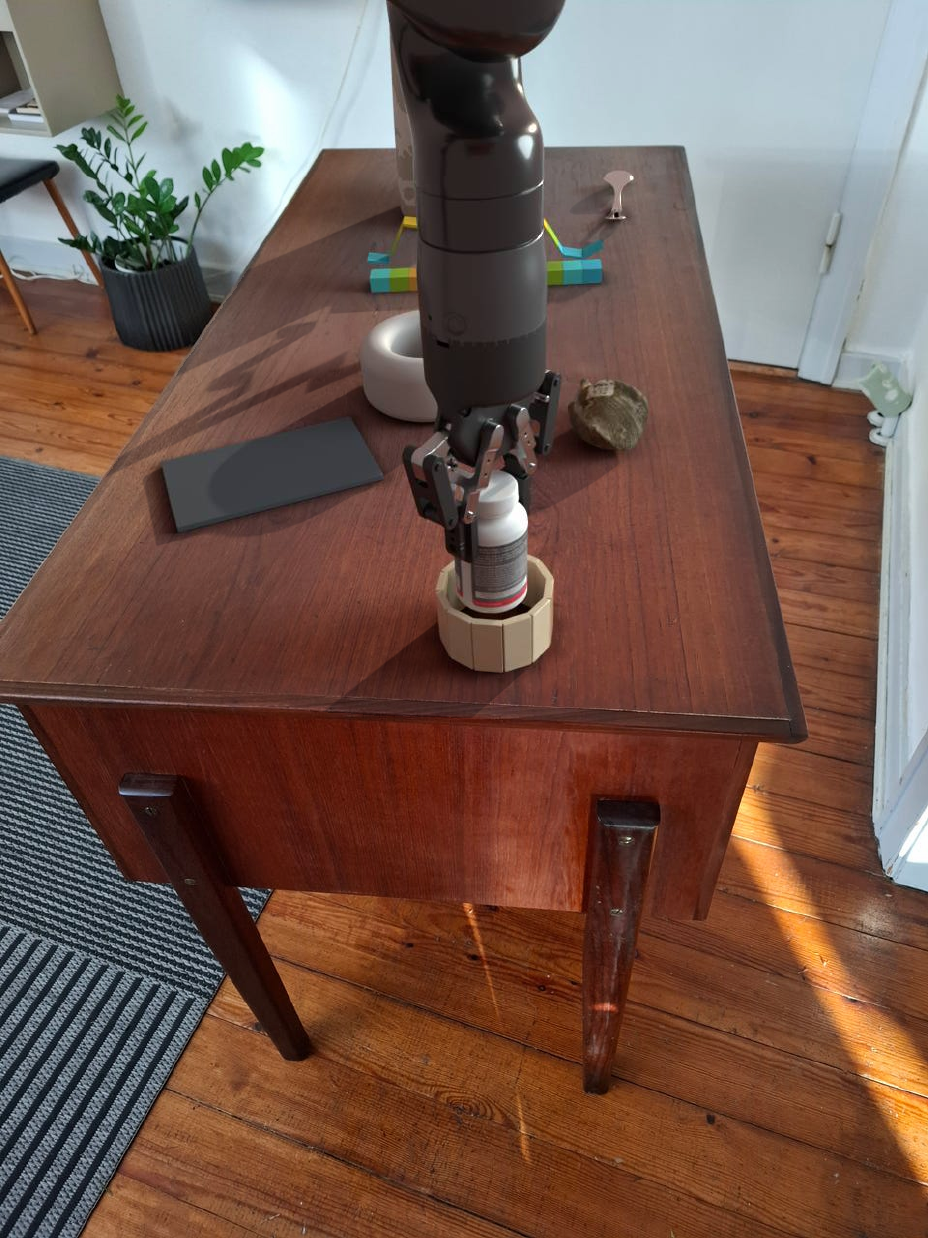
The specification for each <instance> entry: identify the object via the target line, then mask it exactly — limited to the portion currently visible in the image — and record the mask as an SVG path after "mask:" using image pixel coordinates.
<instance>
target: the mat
mask: <svg viewBox="0 0 928 1238" xmlns="http://www.w3.org/2000/svg"><path fill="white" fill-rule="evenodd" d="M160 465H161V470H162V474H163V477H164V482H165V486H166V490H167V494H168V499H169V503H170V507H171V512H172V515H173V519H174V525H175V528H176V531H177V533H182V532H187V531H190V530H194V529H198V528H202V527H206V526H210V525H215V524H217V523H222V522H226V521H229V520H233V519H237V518H241V517H245V516H248V515H252V514H256V513H261V512H263V511H267V510H271V509H276V508H279V507H283V506H287V505H291V504H294V503H299V502H302V501H305V500H306V501H307V500H310V499H313V498H317V497H318V498H319V497H321V496H325V495H329V494H333V493H337V492H341V491H344V490H345V491H346V490H348V489H352V488H355V487H360V486H364V485H367V484H371V483H375V482H380V481H383V480H384V474H383V472H382V470H381V468H380V467H379V465H378V462H377V461H376V460H375V458H374V456H373V455H372V452H371V451H370V449H369V447H368V446H367V443H366V442H365V439H364V438H363V437H362V435H361V433H360V431H359V430H358V428H357V426H356V424H355V422H354V420H353V419H352V417H351V416H345V417H341V418H337V419H333V420H329V421H324V422H320V423H315V424H312V425H308V426H304V427H303V426H302V427H299V428H295V429H290V430H287V431H282V432H279V433H274V434H271V435H266V436H262V437H257V438H254V439H250V440H246V441H241V442H237V443H234V444H229V445H225V446H221V447H217V448H212V449H208V450H204V451H199V452H195V453H192V454H188V455H183V456H179V457H174V458H170V459H166V460H162V461H160Z"/></svg>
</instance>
